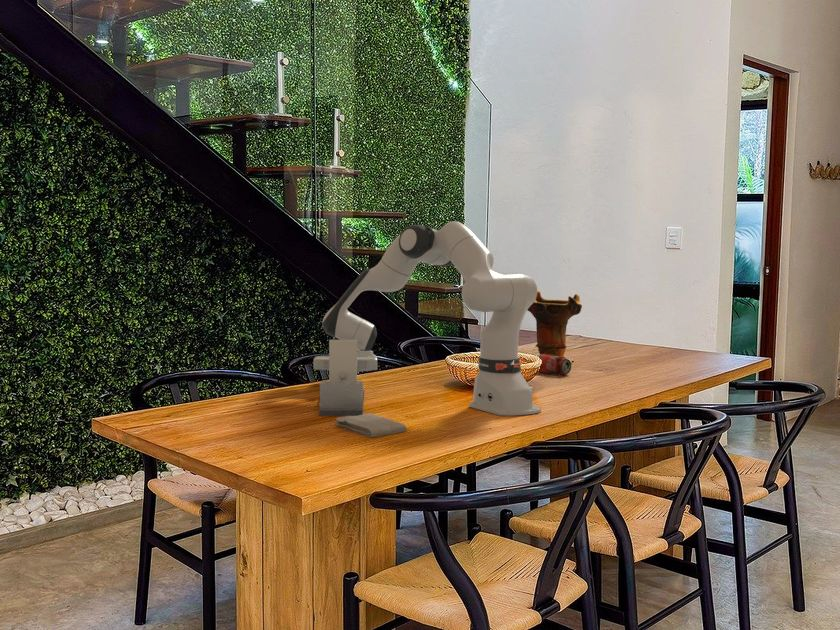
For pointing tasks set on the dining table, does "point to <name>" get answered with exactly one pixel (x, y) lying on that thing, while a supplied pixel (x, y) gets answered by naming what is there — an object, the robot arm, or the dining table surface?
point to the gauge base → (341, 398)
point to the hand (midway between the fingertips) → (344, 367)
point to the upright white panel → (342, 360)
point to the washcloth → (370, 425)
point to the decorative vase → (553, 322)
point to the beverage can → (554, 365)
